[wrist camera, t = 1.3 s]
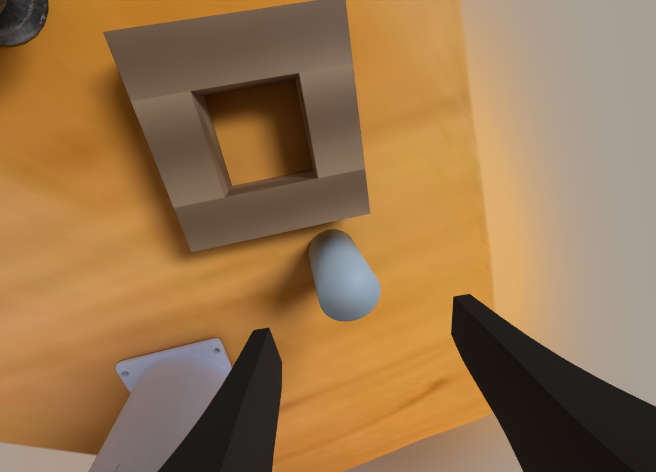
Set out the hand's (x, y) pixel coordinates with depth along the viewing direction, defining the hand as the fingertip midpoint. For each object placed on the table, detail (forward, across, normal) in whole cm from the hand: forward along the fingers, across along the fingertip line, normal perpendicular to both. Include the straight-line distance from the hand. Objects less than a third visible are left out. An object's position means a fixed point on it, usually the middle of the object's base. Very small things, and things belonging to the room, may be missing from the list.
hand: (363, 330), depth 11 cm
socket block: (+11, +4, -6) cm, 13 cm away
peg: (+11, +1, +3) cm, 11 cm away
